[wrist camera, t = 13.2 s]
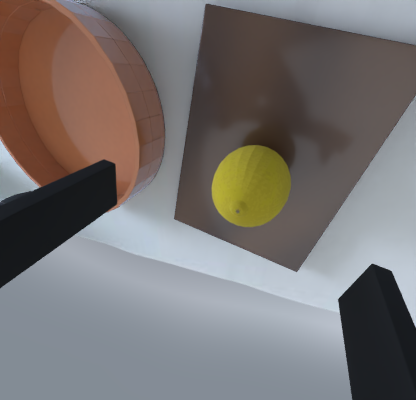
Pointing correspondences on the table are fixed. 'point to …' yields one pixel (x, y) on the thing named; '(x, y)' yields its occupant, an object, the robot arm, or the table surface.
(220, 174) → the lemon
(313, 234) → the board
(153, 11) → the table surface
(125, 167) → the basin
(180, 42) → the table surface
